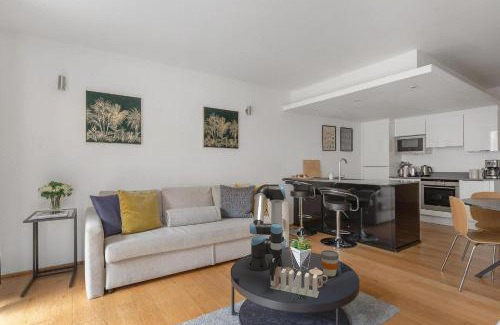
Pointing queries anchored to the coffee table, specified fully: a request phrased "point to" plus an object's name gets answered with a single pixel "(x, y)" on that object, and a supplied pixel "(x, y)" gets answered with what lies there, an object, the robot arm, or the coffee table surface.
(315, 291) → the domino
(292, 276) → the domino
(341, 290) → the coffee table surface
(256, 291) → the coffee table surface
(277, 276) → the domino
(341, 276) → the coffee table surface
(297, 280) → the domino
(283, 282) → the domino
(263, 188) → the robot arm
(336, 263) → the reusable coffee cup
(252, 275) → the coffee table surface
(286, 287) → the strip
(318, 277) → the teacup with lid
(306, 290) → the domino
